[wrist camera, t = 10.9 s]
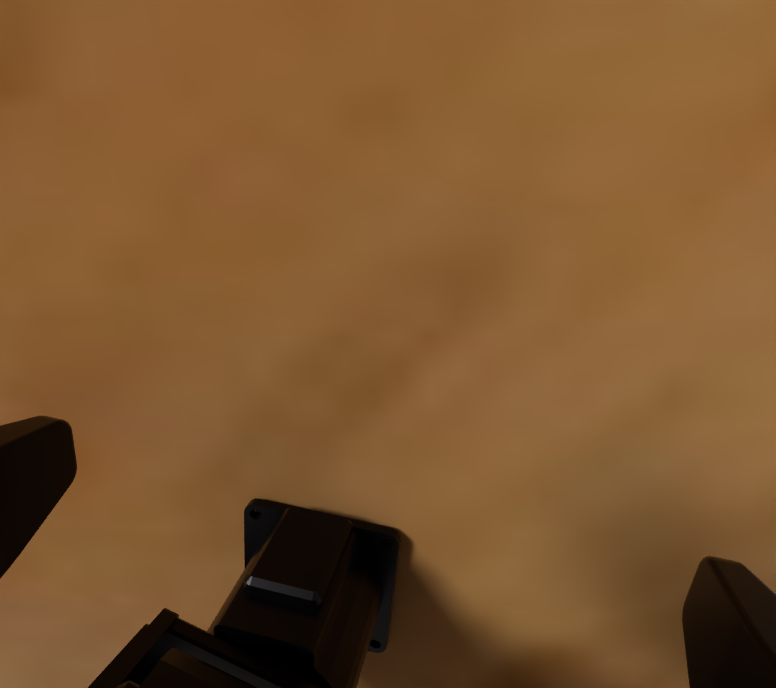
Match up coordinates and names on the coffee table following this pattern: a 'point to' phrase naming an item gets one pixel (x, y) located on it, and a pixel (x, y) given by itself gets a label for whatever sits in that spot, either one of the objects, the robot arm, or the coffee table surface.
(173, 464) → the coffee table surface
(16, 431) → the robot arm
